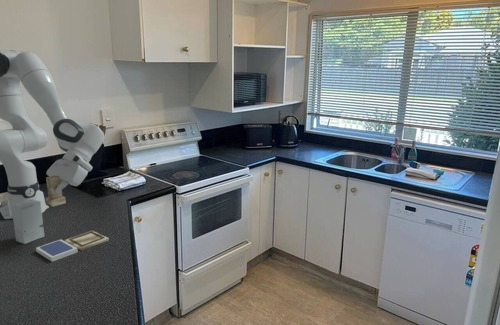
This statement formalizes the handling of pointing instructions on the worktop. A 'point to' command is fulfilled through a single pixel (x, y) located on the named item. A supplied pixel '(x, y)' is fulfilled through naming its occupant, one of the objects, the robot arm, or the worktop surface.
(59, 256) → the ink pad
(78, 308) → the worktop surface
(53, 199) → the stamp
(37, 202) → the skincare box
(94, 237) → the box board
